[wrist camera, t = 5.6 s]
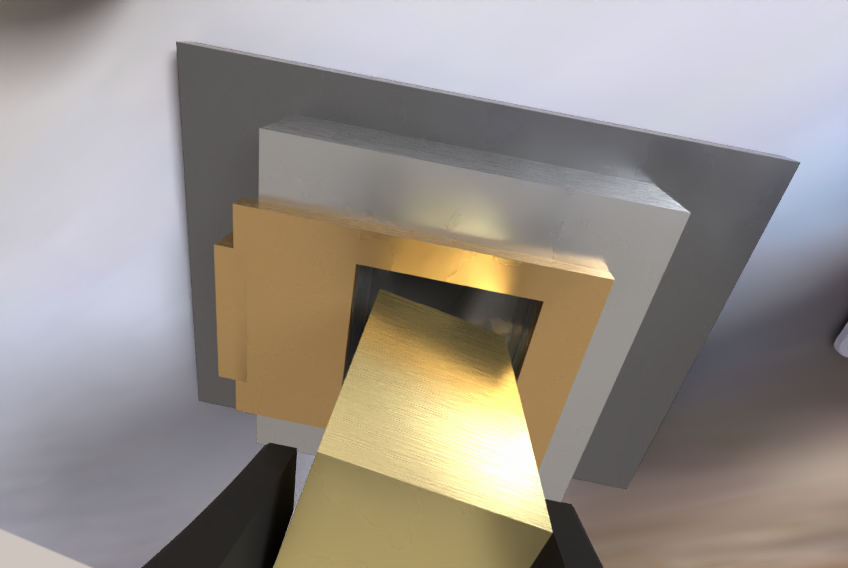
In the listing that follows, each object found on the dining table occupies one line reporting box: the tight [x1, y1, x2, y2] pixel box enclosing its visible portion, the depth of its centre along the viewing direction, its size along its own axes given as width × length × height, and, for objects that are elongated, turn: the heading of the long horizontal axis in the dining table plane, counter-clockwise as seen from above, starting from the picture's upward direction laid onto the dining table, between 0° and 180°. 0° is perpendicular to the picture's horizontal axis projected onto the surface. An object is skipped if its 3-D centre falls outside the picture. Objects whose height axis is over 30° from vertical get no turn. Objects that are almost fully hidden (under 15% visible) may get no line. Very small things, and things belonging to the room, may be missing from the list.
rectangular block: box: [273, 289, 553, 568], centre depth 12 cm, size 4×4×8 cm
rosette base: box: [176, 42, 800, 502], centre depth 17 cm, size 20×15×5 cm
